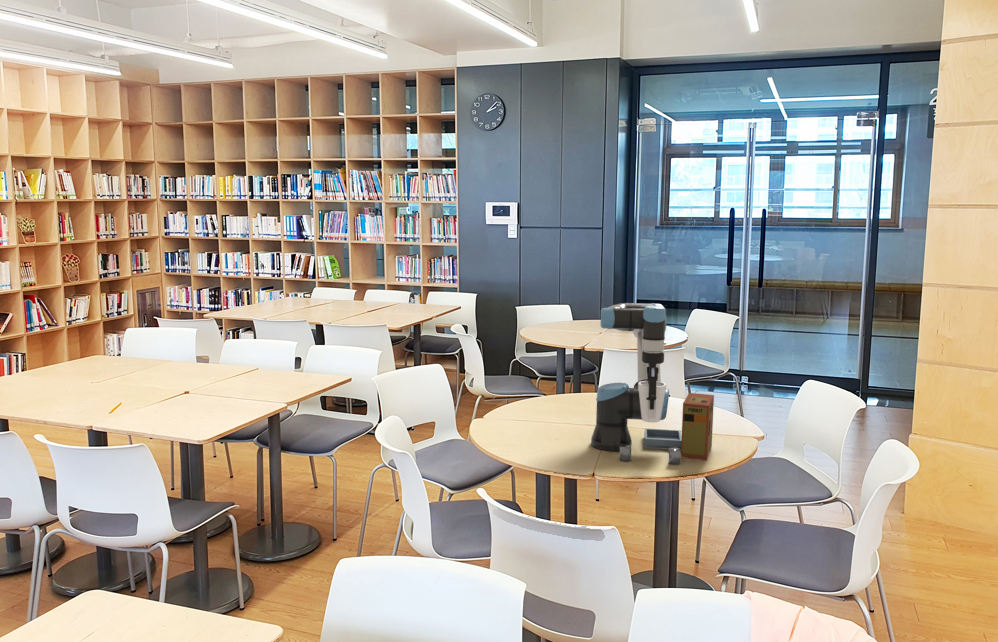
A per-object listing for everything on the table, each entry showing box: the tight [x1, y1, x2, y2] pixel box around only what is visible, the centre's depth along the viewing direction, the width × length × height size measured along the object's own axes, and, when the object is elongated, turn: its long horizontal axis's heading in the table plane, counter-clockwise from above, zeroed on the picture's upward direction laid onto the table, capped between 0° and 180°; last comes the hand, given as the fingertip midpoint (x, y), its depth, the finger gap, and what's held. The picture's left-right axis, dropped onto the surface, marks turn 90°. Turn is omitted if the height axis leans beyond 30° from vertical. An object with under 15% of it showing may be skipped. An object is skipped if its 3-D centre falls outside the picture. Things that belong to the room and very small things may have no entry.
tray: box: [643, 428, 682, 450], centre depth 285 cm, size 14×14×4 cm
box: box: [680, 392, 715, 461], centre depth 274 cm, size 17×9×20 cm, turn 159°
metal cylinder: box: [618, 445, 632, 463], centre depth 266 cm, size 4×4×5 cm
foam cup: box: [638, 381, 667, 424], centre depth 261 cm, size 10×9×13 cm
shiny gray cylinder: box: [668, 448, 681, 466], centre depth 262 cm, size 4×4×5 cm
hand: (651, 414), depth 262 cm, fingers closed on foam cup, 9 cm apart
